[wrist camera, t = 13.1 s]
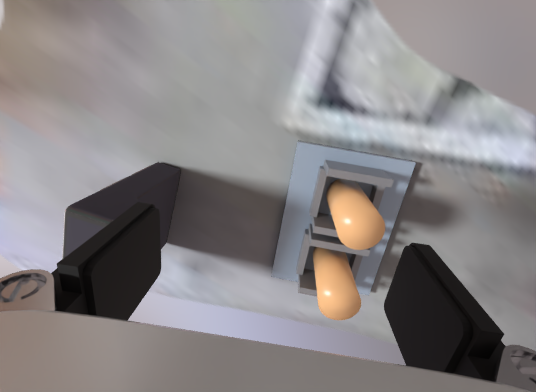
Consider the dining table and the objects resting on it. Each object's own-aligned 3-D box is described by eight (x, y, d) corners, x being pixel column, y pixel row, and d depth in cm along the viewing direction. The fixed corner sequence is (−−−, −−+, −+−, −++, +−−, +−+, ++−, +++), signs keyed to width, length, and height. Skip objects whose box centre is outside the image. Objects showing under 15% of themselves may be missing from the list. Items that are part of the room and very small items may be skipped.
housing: (297, 140, 32) (299, 159, 22) (412, 160, 31) (462, 188, 22) (271, 272, 38) (264, 329, 29) (366, 290, 38) (391, 354, 28)
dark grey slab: (152, 159, 34) (53, 203, 20) (186, 170, 34) (111, 222, 20) (140, 235, 38) (49, 317, 24) (171, 244, 38) (98, 332, 24)
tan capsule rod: (330, 175, 32) (343, 203, 23) (365, 181, 32) (391, 212, 23) (322, 207, 33) (332, 245, 25) (356, 213, 33) (377, 253, 25)
